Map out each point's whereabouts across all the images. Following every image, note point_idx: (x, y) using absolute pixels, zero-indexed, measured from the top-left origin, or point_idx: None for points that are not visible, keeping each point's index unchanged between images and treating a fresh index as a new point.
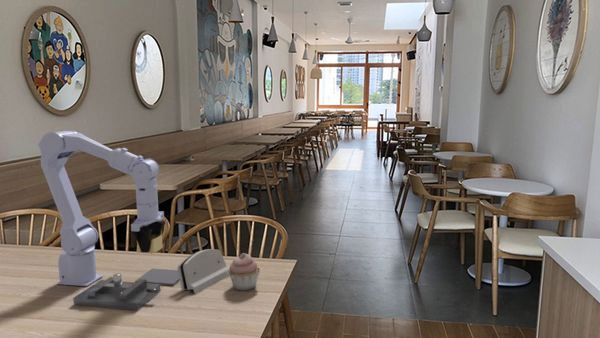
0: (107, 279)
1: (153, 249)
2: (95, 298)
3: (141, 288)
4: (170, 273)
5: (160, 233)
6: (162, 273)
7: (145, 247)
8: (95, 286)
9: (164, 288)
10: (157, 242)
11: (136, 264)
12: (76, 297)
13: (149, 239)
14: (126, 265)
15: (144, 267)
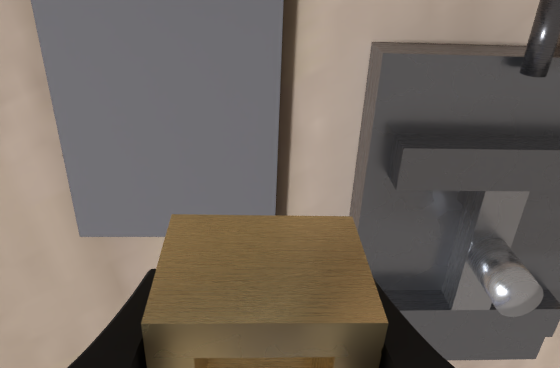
0: None
1: (359, 243)
2: (556, 283)
3: (456, 135)
4: (118, 95)
5: (101, 356)
6: (135, 145)
7: None
8: None
9: (329, 36)
10: (273, 274)
11: (38, 334)
12: (534, 351)
13: (406, 358)
14: (69, 365)
15: (60, 284)
